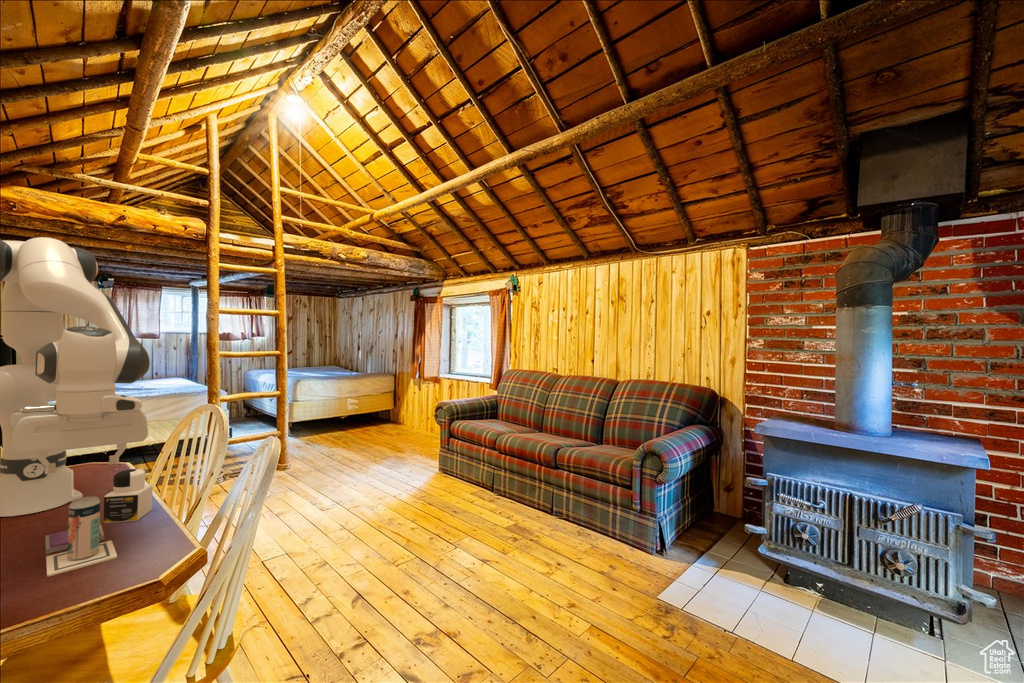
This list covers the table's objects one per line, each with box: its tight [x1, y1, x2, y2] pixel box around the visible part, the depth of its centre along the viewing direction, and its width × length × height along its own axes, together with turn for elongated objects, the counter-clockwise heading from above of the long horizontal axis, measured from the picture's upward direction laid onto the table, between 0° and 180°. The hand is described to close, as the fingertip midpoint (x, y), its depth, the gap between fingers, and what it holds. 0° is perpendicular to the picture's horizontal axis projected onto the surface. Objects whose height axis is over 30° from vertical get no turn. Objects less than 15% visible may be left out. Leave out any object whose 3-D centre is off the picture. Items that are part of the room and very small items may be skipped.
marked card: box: [45, 540, 118, 578], centre depth 89 cm, size 10×10×1 cm
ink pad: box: [45, 523, 105, 555], centre depth 96 cm, size 9×9×1 cm
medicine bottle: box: [103, 468, 154, 524], centre depth 109 cm, size 7×7×12 cm
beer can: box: [67, 495, 101, 560], centre depth 89 cm, size 5×5×12 cm
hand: (83, 468), depth 89 cm, fingers open, 8 cm apart
